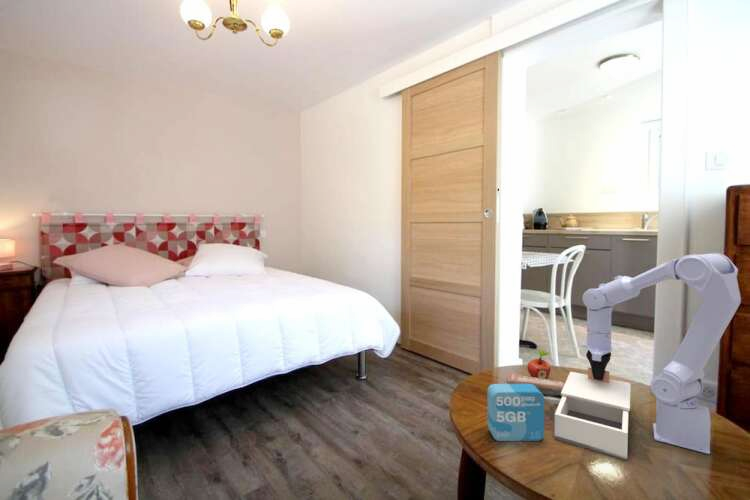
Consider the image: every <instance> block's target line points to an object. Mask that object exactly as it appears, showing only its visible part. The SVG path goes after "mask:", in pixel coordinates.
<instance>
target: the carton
mask: <svg viewBox="0 0 750 500" xmlns="http://www.w3.org/2000/svg"><path fill="white" fill-rule="evenodd" d="M557 405H558V404H557ZM554 439H555V440H558V441H561V442H565V443H568V444H571V445H574V444H575V445H574V446H578V447H581V446H582V447H581V448H584V447H585V448H584V449H587V448H588V450H591V451H595V452H598V453H601V454H605V455H607V456H611V457H614V458H618V459H622V460H624V461H628V445H629V411H627V410H623V409H619V408H615V407H610V406H606V405H602V404H597V403H593V402H589V401H584V400H580V399H576V398H572V397H567V396H562V398H561V400H560V403H559V405H558V406H557V408H556V410H555V412H554Z"/></svg>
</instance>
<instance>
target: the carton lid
mask: <svg viewBox="0 0 750 500" xmlns="http://www.w3.org/2000/svg"><path fill="white" fill-rule="evenodd" d="M564 383H565V385H564V387H563V389H562V392H561V395H563V396H567V397H572V398H576V399H580V400H584V401H589V402H593V403H597V404H602V405H606V406H610V407H615V408H619V409H623V410H627V411H628V412H630V411H631V387H632V386H631V383H630V382H626V381H621V380H618V379H617V380H615V379H610V371H607V370H605V373H604V378H603V380H597V379H594V378H593V374H592V369H591V367H587V374H585V373H579V372H573V371H570V372H569V373H568V376H567V378H566V380H565V382H564Z"/></svg>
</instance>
